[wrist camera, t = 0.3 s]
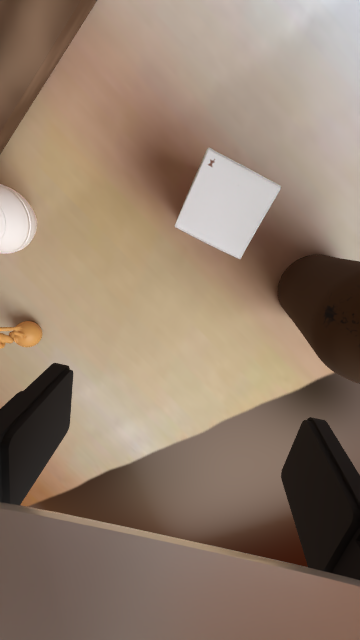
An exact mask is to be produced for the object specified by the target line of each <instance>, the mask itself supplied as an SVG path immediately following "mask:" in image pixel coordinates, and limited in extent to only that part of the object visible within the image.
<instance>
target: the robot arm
mask: <svg viewBox="0 0 360 640" xmlns="http://www.w3.org/2000/svg"><path fill="white" fill-rule="evenodd" d="M72 384H73V371H72V370H70V368H69V366H67V365H62V364H58V363H53V364H52V365H51V366H50V367H49V368H47V369H46V370H45V371H44V372H43V373H42V374H41V375H40V376H39V377H38V378H37V379H36V380H35V381H34V382H33V383H31V384H30V385H29V386H28V387H27V388H26V389H25V390H24V391H21V392H19V393H17V394H16V395H15V396H14V397H13V398H12V399H11V400H10V401H9V402H7V403H6V404H5V405H4V406H3V407H2V408H1V409H0V640H360V475H359V474H358V472H357V470H356V469H355V467H354V465H353V464H352V462H351V461H350V459H349V457H348V456H347V454H346V452H345V451H344V449H343V448H342V446H341V444H340V443H339V441H338V439H337V438H336V436H335V435H334V433H333V431H332V430H331V428H330V426H329V425H328V423H327V422H326V421H325V420H320V419H315V418H311V417H310V418H308V419H307V420H304V421H303V422H302V424H301V426H300V429H299V431H298V434H297V436H296V438H295V440H294V443H293V445H292V448H291V450H290V452H289V455H288V457H287V459H286V462H285V464H284V466H283V469H282V473H281V478H282V482H283V485H284V489H285V492H286V495H287V499H288V502H289V505H290V509H291V512H292V515H293V518H294V521H295V525H296V528H297V532H298V535H299V538H300V542H301V545H302V548H303V551H304V555H305V558H306V561H307V565H308V567H304V566H300V565H295V564H291V563H286V562H282V561H277V560H273V559H268V558H264V557H259V556H255V555H250V554H246V553H242V552H238V551H233V550H229V549H224V548H220V547H215V546H211V545H206V544H201V543H197V542H192V541H188V540H183V539H179V538H174V537H169V536H165V535H160V534H155V533H151V532H146V531H142V530H137V529H132V528H128V527H123V526H118V525H114V524H109V523H104V522H100V521H95V520H90V519H85V518H80V517H75V516H71V515H67V514H62V513H56V512H51V511H46V510H41V509H36V508H31V507H26V506H20V504H21V503H22V501H23V499H24V498H25V496H26V495H27V493H28V492H29V490H30V489H31V487H32V486H33V484H34V483H35V481H36V479H37V478H38V476H39V475H40V473H41V472H42V470H43V469H44V467H45V466H46V464H47V463H48V461H49V459H50V458H51V456H52V455H53V453H54V452H55V450H56V449H57V447H58V446H59V444H60V443H61V441H62V439H63V438H64V436H65V435H66V433H67V431H68V429H69V425H70V412H71V398H72Z"/></svg>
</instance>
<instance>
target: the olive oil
mask: <svg viewBox="0 0 360 640" xmlns="http://www.w3.org/2000/svg"><path fill="white" fill-rule="evenodd" d="M278 298H279V301H280V304H281V306H282V308H283V309H284V310H285V312H286V313H287V314H288V315H289V317H290V318H291V319H292V320H293V322H294V323H295V325H296V326H297V327H298V329H299V330H300V331H301V333H302V334H303V336H304V337H305V338H306V340H307V341H308V343H309V344H310V346H311V347H312V348H313V350H314V351H315V353H316V354H317V356H318V357H319V358H320V359H321V361H322V362H323V363H324V364H325V365H326V366H327V367H328V368H330V369H331V370H332V371H334V372H335V373H337V374H339V375H341V376H342V377H344V378H346V379H349V380H351V381H353V382H356V383H359V384H360V262H359V261H352V260H346V259H340V258H335V257H330V256H325V255H310V256H306V257H303V258H301V259H299V260H297V261H296V262H294V263H293V264H291V265H290V266H289V267H288V268H287V269H286V271H285V272H284V274H283V275H282V277H281V279H280V282H279V286H278Z"/></svg>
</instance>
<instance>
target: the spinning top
mask: <svg viewBox="0 0 360 640" xmlns="http://www.w3.org/2000/svg"><path fill="white" fill-rule="evenodd" d="M36 230H37V218H36V215H35V212H34V210H33V209H32V207H31V206H30V204H29V203H28V202H27V200H26V199H25V198H24V197H23V196H22V195H21V194H19V193H18V192H17V191H15V190H13V189H12V188H10V187H7V186H4V185H2V184H0V253H5V254H7V253H14V252H17V251H19V250H21V249H23V248H25V247H26V246H27V245H28V244H29V243H30V242H31V240H32V239H33V237H34V235H35V233H36Z"/></svg>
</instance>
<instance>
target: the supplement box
mask: <svg viewBox="0 0 360 640" xmlns="http://www.w3.org/2000/svg"><path fill="white" fill-rule="evenodd" d="M280 189H281V186H280V185H278V184H276V183H275V182H273V181H271V180H269V179H267V178H265V177H263V176H261V175H260V174H258V173H256V172H254V171H252V170H250V169H248V168H247V167H245V166H243V165H242V164H239V163H237V162H235V161H233V160H231V159H229V158H227V157H226V156H224V155H222V154H220V153H218V152H216V151H215V150H213V149H211V148H207V150H206V152H205V155H204V157H203V159H202V162H201V164H200V166H199V168H198V171H197V173H196V175H195V178H194V180H193V182H192V185H191V187H190V189H189V192H188V194H187V197H186V199H185V201H184V204H183V206H182V209H181V211H180V214H179V216H178V219H177V221H176V223H175V227H176V228H178V229H180V230H181V231H183V232H185V233H187V234H189V235H191V236H193V237H195V238H197V239H198V240H200V241H202V242H204V243H206V244H208V245H210V246H212V247H214V248H217V249H219V250H221V251H223V252H225V253H227V254H229V255H231V256H233V257H235V258H238V259H241V257H242V255H243V253H244V251H245V250H246V248H247V246H248V244H249V243H250V241H251V239H252V237H253V236H254V234H255V232H256V231H257V229H258V227H259V225H260V224H261V222H262V220H263V219H264V217H265V215H266V213H267V212H268V210H269V208H270V207H271V205H272V203H273V201H274V200H275V198H276V196H277V194H278V193H279V191H280Z"/></svg>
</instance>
